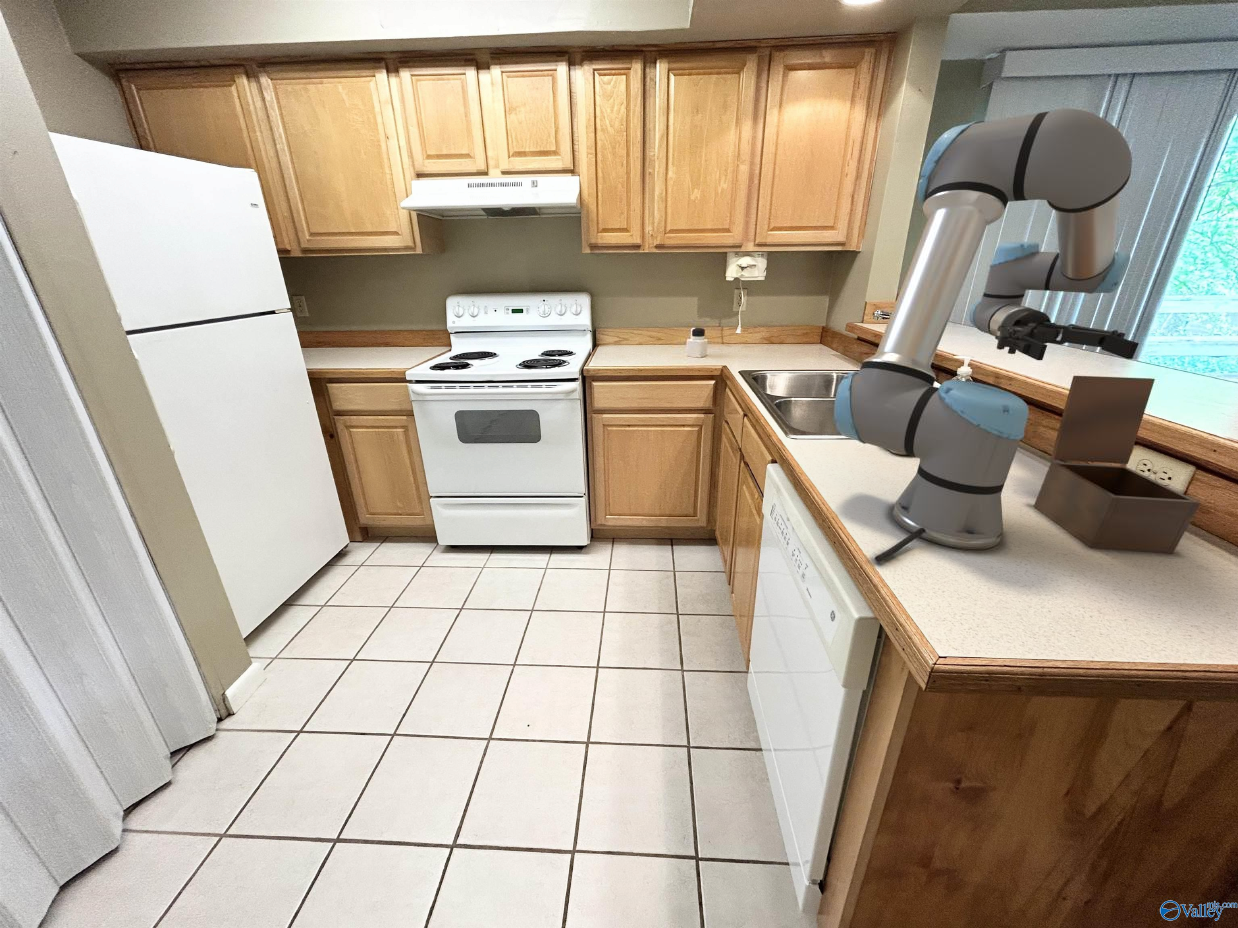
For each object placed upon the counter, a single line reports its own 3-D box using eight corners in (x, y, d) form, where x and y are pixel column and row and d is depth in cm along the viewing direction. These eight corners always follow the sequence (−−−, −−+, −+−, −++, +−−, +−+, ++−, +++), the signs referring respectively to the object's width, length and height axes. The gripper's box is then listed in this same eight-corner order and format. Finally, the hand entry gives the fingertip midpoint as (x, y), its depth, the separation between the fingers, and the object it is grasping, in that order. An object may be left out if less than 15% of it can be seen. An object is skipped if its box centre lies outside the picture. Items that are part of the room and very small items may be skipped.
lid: (1155, 378, 79) (1150, 378, 80) (1077, 376, 80) (1073, 375, 81) (1128, 464, 83) (1123, 462, 84) (1053, 460, 84) (1050, 458, 85)
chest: (1173, 553, 74) (1201, 502, 71) (1090, 547, 76) (1113, 497, 72) (1103, 511, 87) (1124, 465, 83) (1033, 506, 88) (1051, 461, 85)
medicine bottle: (706, 355, 217) (709, 327, 212) (700, 358, 211) (702, 329, 207) (692, 353, 221) (694, 326, 216) (685, 356, 215) (687, 328, 210)
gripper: (1081, 342, 102) (1162, 372, 84) (950, 345, 107) (1000, 373, 88) (1095, 305, 99) (1182, 328, 80) (959, 310, 103) (1012, 332, 85)
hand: (1087, 352), depth 84 cm, fingers open, 13 cm apart
